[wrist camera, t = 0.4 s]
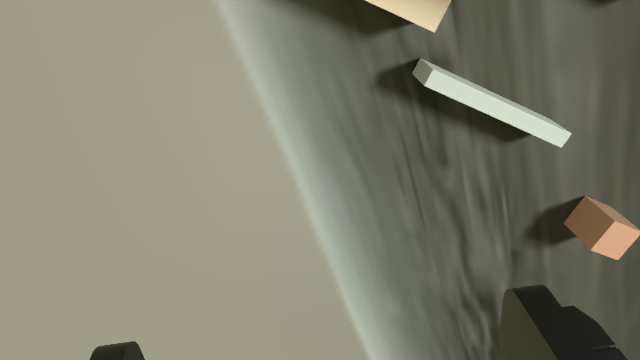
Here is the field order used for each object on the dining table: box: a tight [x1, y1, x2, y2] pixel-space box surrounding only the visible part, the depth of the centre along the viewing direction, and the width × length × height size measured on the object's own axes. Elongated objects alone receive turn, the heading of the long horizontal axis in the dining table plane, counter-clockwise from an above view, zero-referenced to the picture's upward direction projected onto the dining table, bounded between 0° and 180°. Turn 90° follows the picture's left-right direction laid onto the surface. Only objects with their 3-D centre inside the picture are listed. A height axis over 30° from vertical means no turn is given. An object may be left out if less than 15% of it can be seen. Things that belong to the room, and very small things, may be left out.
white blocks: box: [412, 58, 571, 148], centre depth 32 cm, size 12×12×3 cm
